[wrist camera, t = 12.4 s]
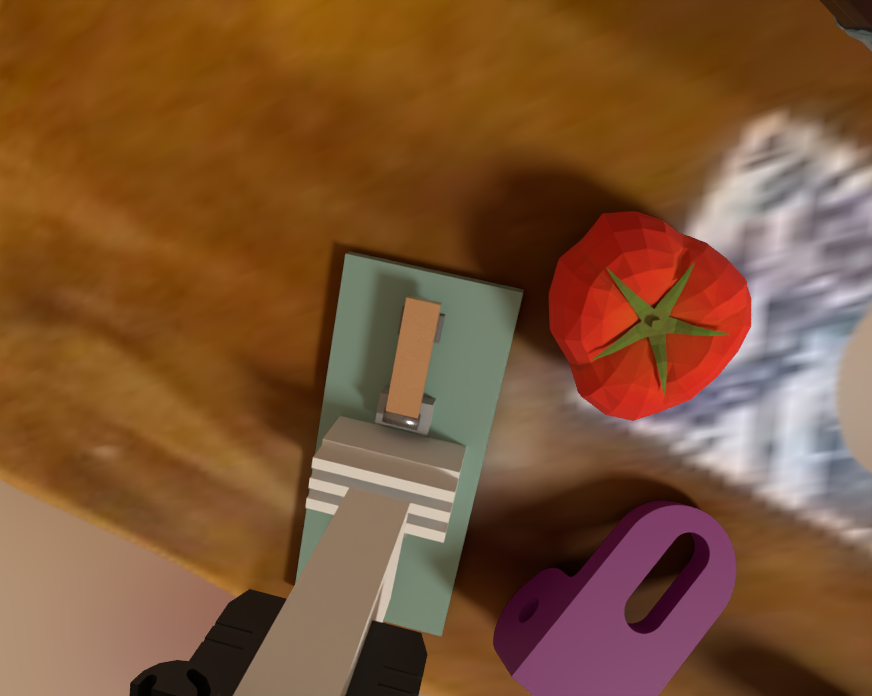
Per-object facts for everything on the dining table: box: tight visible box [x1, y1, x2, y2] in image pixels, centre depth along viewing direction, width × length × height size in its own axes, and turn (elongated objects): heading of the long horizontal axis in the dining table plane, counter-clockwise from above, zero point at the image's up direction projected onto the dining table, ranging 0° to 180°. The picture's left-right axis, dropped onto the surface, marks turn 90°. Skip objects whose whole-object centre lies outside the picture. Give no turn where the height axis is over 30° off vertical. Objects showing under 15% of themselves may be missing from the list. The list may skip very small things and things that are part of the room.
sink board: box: [295, 251, 524, 636], centre depth 50 cm, size 30×13×8 cm, turn 169°
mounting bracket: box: [493, 500, 736, 696], centre depth 53 cm, size 9×8×18 cm
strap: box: [382, 295, 442, 430], centre depth 48 cm, size 10×3×1 cm, turn 169°
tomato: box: [549, 211, 751, 421], centre depth 44 cm, size 14×13×9 cm
